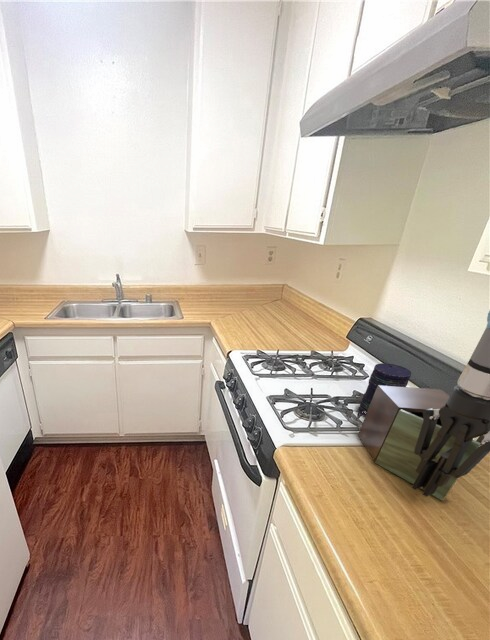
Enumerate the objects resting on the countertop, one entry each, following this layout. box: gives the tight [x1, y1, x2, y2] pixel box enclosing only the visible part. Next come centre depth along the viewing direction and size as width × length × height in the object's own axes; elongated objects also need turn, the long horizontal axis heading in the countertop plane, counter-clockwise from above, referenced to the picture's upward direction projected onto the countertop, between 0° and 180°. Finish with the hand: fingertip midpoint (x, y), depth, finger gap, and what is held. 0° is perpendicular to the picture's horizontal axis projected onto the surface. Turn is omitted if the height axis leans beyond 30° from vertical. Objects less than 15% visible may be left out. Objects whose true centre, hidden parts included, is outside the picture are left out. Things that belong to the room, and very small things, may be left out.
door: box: [374, 409, 482, 502], centre depth 77 cm, size 7×16×16 cm, turn 32°
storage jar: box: [357, 362, 413, 418], centre depth 106 cm, size 10×10×15 cm
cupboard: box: [357, 385, 450, 462], centre depth 89 cm, size 12×16×16 cm
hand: (422, 490), depth 74 cm, fingers closed on door, 2 cm apart
